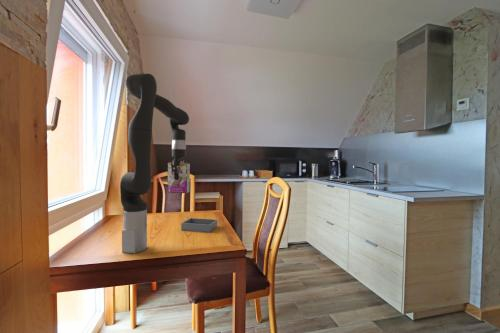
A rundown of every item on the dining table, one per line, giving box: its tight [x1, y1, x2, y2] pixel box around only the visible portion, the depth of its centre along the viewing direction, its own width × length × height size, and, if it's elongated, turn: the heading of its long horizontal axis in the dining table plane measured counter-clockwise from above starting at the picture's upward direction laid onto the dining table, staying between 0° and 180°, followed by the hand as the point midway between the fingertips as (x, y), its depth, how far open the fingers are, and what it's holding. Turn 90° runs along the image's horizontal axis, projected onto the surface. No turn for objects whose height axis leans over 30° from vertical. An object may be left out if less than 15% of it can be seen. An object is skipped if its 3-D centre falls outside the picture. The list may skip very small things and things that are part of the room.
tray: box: [180, 217, 218, 234], centre depth 138 cm, size 12×17×4 cm
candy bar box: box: [167, 162, 191, 194], centre depth 137 cm, size 11×5×16 cm, turn 85°
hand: (178, 179), depth 137 cm, fingers closed on candy bar box, 5 cm apart
